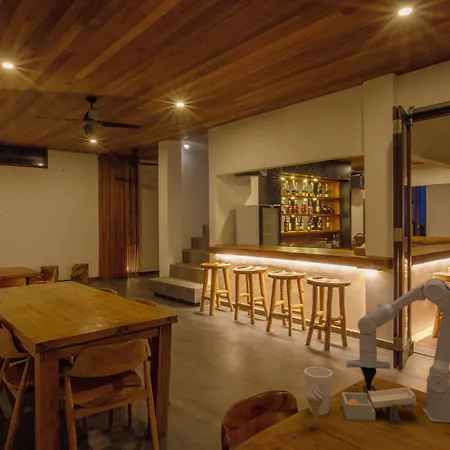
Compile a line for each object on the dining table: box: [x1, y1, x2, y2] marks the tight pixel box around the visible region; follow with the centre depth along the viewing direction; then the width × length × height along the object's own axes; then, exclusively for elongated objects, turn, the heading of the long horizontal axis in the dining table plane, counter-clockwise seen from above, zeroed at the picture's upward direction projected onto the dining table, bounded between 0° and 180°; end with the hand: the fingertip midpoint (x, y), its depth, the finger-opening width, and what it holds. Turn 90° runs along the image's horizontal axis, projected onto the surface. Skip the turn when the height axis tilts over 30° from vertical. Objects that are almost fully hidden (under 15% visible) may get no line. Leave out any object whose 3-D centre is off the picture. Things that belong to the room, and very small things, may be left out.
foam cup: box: [303, 366, 334, 416], centre depth 132 cm, size 10×9×13 cm
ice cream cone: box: [305, 381, 324, 430], centre depth 121 cm, size 6×6×15 cm
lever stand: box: [381, 405, 404, 426], centre depth 128 cm, size 4×11×6 cm, turn 171°
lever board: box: [361, 384, 418, 411], centre depth 132 cm, size 14×15×5 cm
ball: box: [348, 399, 359, 404], centre depth 130 cm, size 4×4×4 cm
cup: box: [341, 391, 376, 422], centre depth 129 cm, size 9×9×5 cm
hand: (368, 388), depth 138 cm, fingers closed, pressing on lever board
